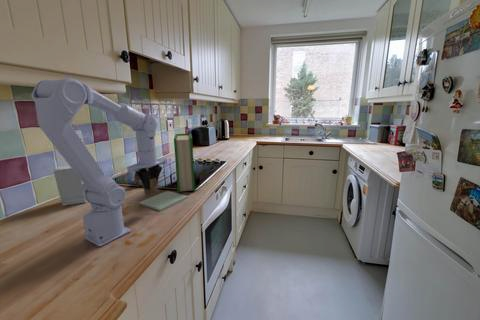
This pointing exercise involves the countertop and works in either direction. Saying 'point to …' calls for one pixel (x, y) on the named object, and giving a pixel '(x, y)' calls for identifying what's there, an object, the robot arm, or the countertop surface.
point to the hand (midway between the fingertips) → (150, 187)
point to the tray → (163, 200)
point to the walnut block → (152, 187)
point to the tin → (138, 179)
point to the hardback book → (184, 162)
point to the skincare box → (69, 186)
